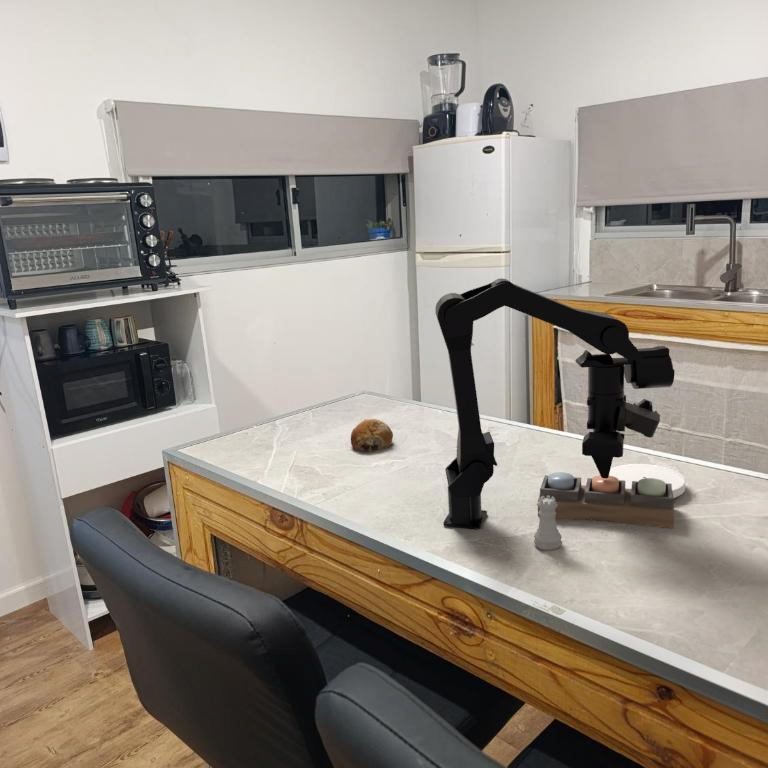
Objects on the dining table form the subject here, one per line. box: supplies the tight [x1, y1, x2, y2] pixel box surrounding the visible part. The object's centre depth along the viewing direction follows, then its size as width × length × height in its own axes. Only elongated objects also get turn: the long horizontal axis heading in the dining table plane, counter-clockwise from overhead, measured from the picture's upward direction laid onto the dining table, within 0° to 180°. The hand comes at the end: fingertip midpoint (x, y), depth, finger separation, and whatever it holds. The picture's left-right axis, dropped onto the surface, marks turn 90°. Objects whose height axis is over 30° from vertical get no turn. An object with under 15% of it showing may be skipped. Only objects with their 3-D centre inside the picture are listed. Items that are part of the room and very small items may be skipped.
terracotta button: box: [592, 474, 619, 493], centre depth 122 cm, size 4×4×2 cm
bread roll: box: [350, 418, 394, 452], centre depth 166 cm, size 10×10×8 cm
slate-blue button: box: [547, 471, 574, 490], centre depth 125 cm, size 4×4×2 cm
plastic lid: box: [609, 463, 686, 499], centre depth 131 cm, size 14×14×2 cm
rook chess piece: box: [533, 496, 563, 551], centre depth 112 cm, size 4×4×8 cm
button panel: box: [537, 474, 675, 529], centre depth 123 cm, size 8×22×5 cm, turn 70°
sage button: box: [638, 478, 666, 497], centre depth 119 cm, size 4×4×2 cm
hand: (605, 477), depth 122 cm, fingers closed
